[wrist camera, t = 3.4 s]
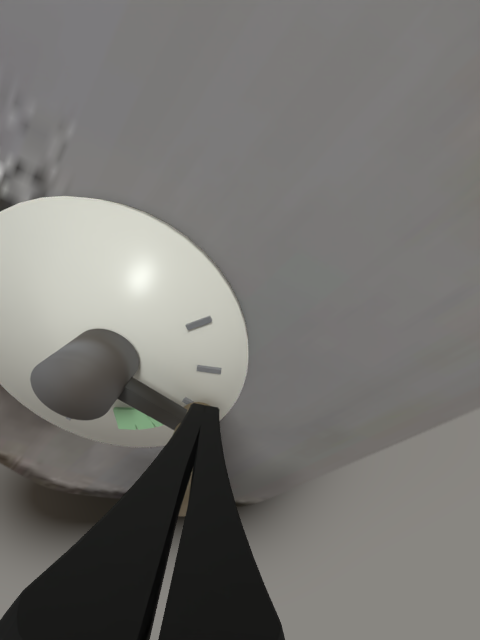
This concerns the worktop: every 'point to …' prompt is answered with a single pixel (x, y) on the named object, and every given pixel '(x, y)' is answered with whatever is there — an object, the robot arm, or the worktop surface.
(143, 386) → the crank handle
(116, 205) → the dial plate
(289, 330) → the worktop surface
